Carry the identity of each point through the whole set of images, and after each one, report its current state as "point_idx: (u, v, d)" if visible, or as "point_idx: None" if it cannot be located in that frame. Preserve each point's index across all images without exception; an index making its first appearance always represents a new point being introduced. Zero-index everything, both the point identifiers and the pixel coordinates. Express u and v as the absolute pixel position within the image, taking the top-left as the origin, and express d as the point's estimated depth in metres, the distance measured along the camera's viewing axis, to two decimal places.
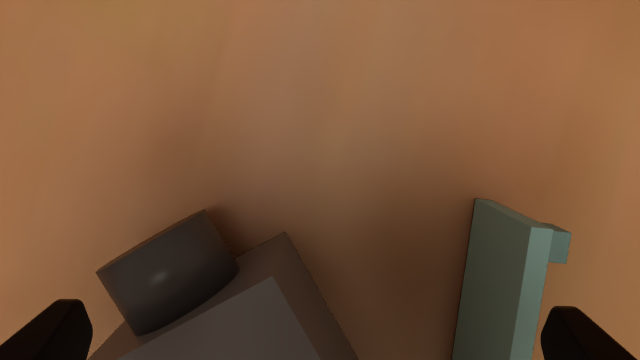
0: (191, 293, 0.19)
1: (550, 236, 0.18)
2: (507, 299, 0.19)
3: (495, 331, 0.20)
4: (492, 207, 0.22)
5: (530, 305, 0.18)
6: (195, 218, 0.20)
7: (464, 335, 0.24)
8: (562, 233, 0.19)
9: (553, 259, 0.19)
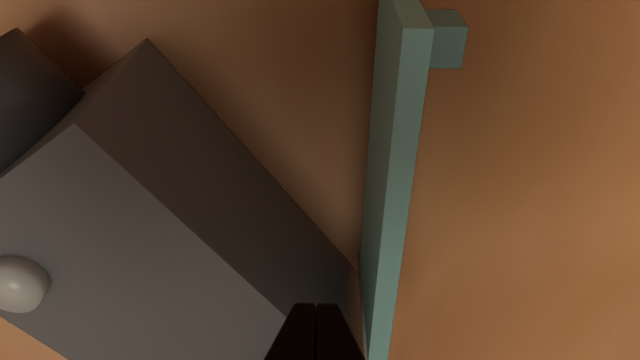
0: (7, 142, 0.16)
1: (430, 39, 0.13)
2: (388, 116, 0.15)
3: (382, 149, 0.17)
4: None
5: (407, 127, 0.14)
6: None
7: (371, 142, 0.21)
8: (455, 29, 0.14)
9: (443, 64, 0.14)
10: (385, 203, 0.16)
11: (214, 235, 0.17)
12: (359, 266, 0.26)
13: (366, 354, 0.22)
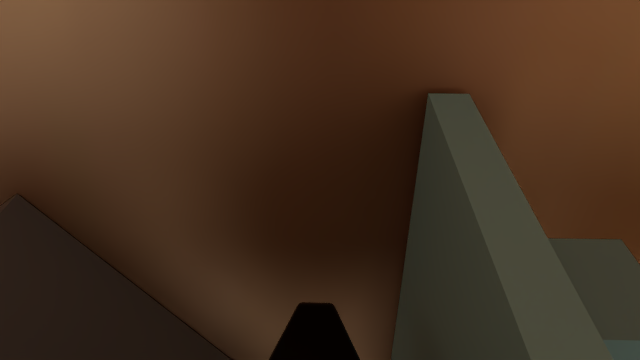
0: None
1: None
2: None
3: None
4: (453, 157, 0.08)
5: None
6: None
7: (403, 354, 0.12)
8: None
9: None
10: None
11: None
12: None
13: None
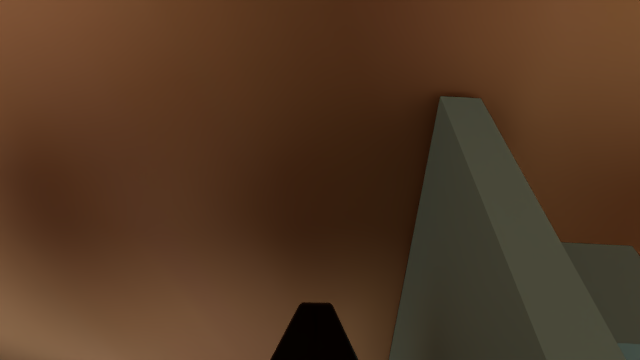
0: None
1: None
2: None
3: None
4: (466, 159, 0.08)
5: None
6: None
7: (402, 356, 0.12)
8: None
9: None
10: None
11: None
12: None
13: None
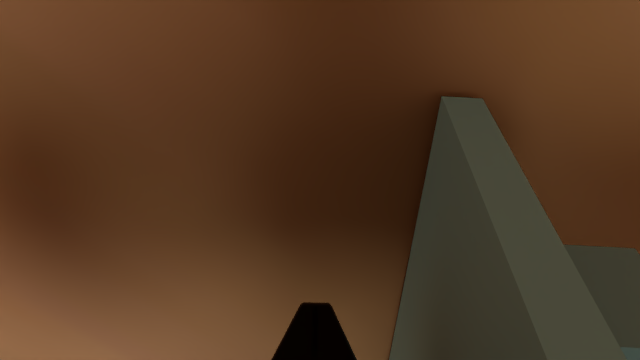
0: None
1: None
2: None
3: None
4: (468, 160, 0.08)
5: None
6: None
7: (403, 357, 0.12)
8: None
9: None
10: None
11: None
12: None
13: None
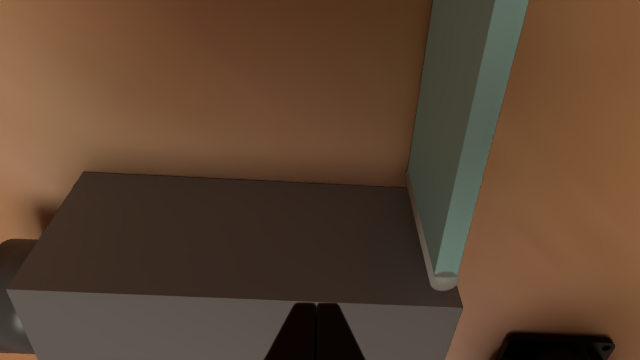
0: None
1: None
2: None
3: None
4: None
5: None
6: None
7: (441, 1, 0.17)
8: None
9: None
10: (488, 34, 0.12)
11: (178, 282, 0.18)
12: (408, 178, 0.22)
13: (431, 265, 0.18)
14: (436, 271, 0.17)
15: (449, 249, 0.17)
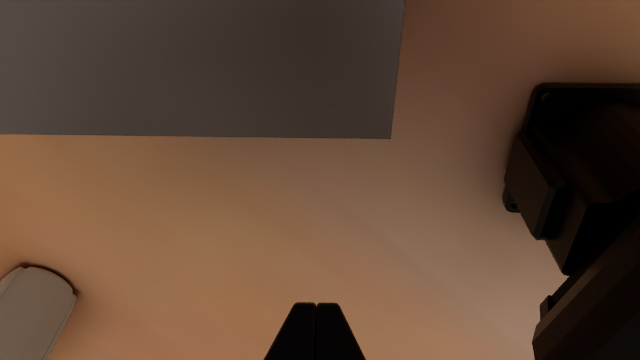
0: None
1: None
2: None
3: None
4: None
5: None
6: None
7: None
8: None
9: None
10: None
11: None
12: None
13: None
14: None
15: None
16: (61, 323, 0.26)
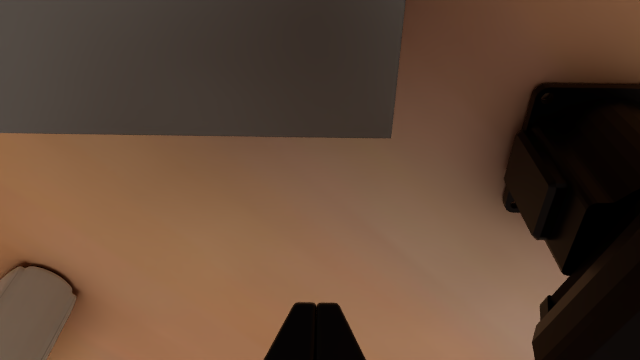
0: None
1: None
2: None
3: None
4: None
5: None
6: None
7: None
8: None
9: None
10: None
11: None
12: None
13: None
14: None
15: None
16: (61, 322, 0.26)
